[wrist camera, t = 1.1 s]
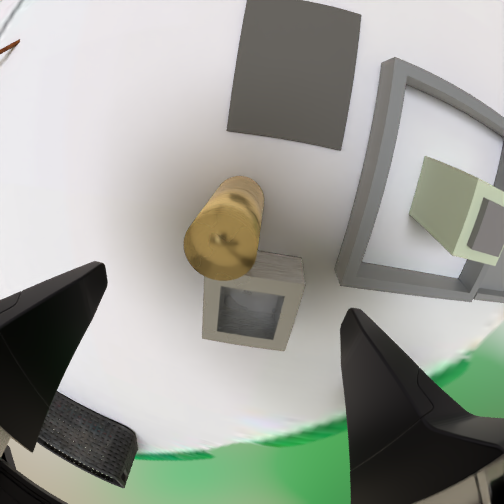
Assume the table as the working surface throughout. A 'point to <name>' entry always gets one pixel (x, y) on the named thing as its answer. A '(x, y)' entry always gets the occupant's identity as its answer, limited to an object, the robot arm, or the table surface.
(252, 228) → the rod
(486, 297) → the case
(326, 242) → the table surface
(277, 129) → the mat
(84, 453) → the storage bin
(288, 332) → the grey square socket block
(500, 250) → the module
